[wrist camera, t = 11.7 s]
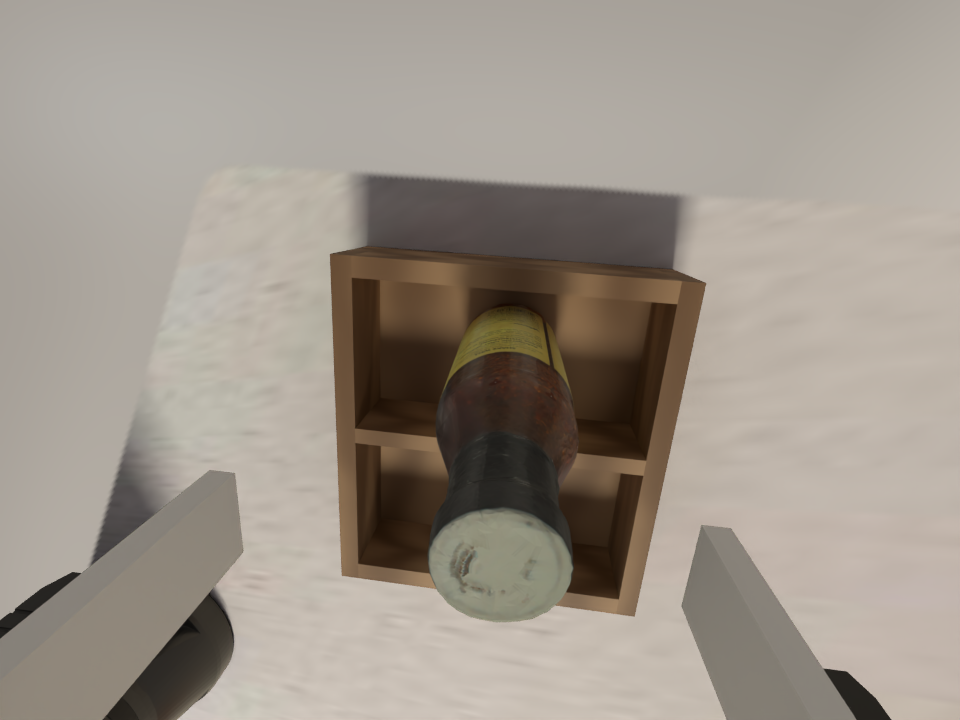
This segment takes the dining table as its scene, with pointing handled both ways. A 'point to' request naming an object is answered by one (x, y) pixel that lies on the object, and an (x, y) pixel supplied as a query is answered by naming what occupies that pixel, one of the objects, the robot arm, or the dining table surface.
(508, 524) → the sauce bottle
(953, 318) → the dining table surface
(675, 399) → the caddy
